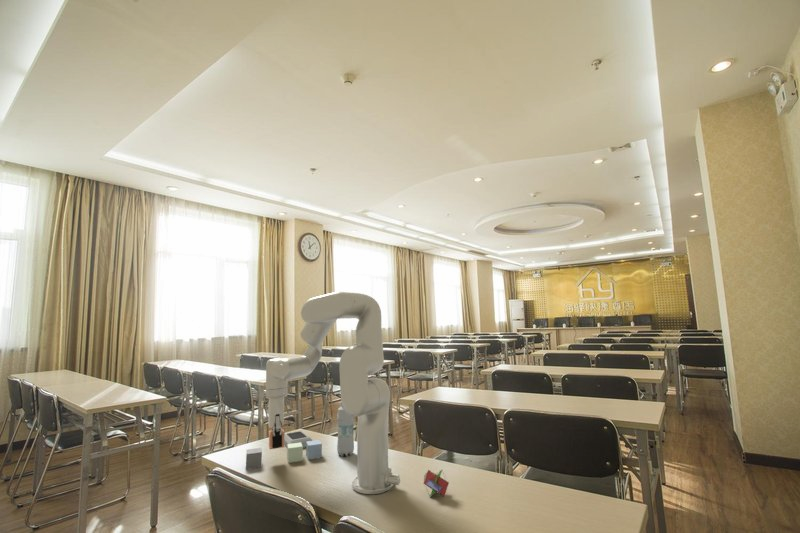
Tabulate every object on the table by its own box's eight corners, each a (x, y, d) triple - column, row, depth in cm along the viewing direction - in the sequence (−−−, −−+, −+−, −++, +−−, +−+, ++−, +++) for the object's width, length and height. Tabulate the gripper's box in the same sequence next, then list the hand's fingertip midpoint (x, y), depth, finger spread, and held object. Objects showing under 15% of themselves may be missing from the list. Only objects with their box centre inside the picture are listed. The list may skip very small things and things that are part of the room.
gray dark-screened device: (302, 428, 163) (313, 437, 150) (302, 437, 162) (313, 447, 149) (280, 432, 158) (289, 442, 145) (280, 441, 157) (289, 452, 145)
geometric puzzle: (457, 485, 107) (441, 459, 110) (449, 495, 101) (432, 467, 104) (439, 497, 109) (423, 472, 112) (430, 508, 103) (414, 480, 106)
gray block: (260, 462, 134) (261, 447, 134) (261, 467, 129) (261, 452, 130) (246, 464, 132) (246, 449, 132) (245, 469, 127) (246, 454, 128)
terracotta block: (283, 443, 137) (283, 428, 137) (284, 447, 132) (284, 432, 133) (268, 445, 135) (268, 431, 135) (269, 449, 130) (269, 434, 131)
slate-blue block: (319, 453, 141) (319, 439, 142) (321, 458, 137) (321, 443, 137) (306, 455, 140) (306, 441, 140) (307, 460, 135) (308, 445, 136)
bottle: (335, 452, 142) (335, 398, 145) (352, 450, 144) (352, 396, 147) (337, 458, 136) (338, 401, 138) (356, 456, 138) (356, 400, 140)
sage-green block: (300, 456, 139) (300, 442, 140) (302, 460, 134) (302, 446, 135) (286, 458, 137) (287, 444, 138) (288, 463, 132) (288, 448, 133)
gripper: (265, 390, 143) (264, 440, 140) (266, 397, 127) (266, 454, 124) (285, 388, 145) (285, 437, 143) (289, 395, 130) (289, 450, 127)
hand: (276, 444), depth 133 cm, fingers closed on terracotta block, 4 cm apart
